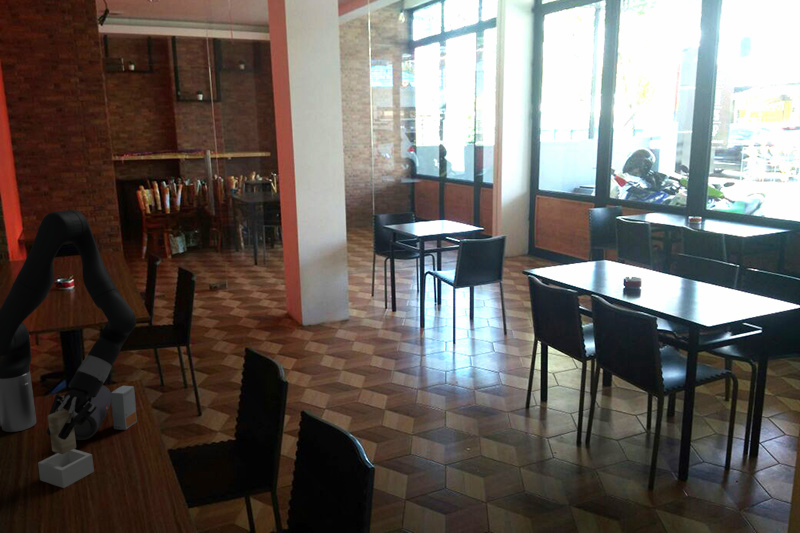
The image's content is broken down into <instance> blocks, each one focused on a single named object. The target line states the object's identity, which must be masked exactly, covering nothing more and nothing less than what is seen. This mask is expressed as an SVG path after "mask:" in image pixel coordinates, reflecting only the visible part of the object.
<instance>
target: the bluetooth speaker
mask: <svg viewBox="0 0 800 533" xmlns="http://www.w3.org/2000/svg"><path fill="white" fill-rule="evenodd" d="M91 403H92V404H93V405H95V406H96V407H97V408H96V410H95V411H94V412H93V413H92V414H91V415H90V416H89V417H88V419H87V420H86V421H85V422H84V423H83V424H82V425H76V426H75V427H74V432H75V440H77V441H84V440H85V441H86V440H89V439H91V438H92V437H93V436H94V435H95V434H96V433H97V432H98V431H99V429H100V428H101V425H102V424H103V422H104V420H105V418H106V415H107V414H108V411H109V409H110V407H111V405H112V402H111V390H110V389H109V388H108V387H107V386H105V385H104V384H103V385H102V387H101V389H100V390H99V392H98V394H97V396H96V397H94V398H92V400H91ZM82 418H83V416H82V417H81V418H80V420H81V419H82ZM73 419H74V417H73Z"/></svg>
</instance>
